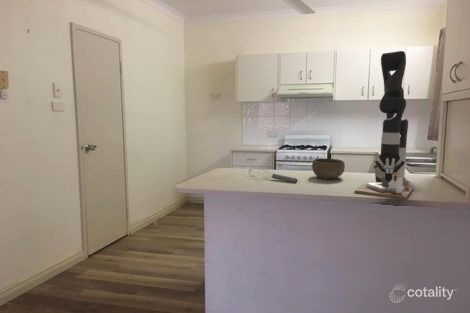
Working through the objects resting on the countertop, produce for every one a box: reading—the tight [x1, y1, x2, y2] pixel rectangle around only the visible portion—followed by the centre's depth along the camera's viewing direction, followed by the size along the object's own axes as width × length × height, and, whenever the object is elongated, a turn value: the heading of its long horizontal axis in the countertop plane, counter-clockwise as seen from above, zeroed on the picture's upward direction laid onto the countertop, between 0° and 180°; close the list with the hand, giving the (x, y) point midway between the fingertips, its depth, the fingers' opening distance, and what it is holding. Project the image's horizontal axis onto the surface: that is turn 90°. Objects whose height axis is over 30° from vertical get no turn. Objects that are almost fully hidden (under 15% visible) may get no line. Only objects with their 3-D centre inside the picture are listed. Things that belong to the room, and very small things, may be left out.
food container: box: [373, 163, 398, 183], centre depth 187 cm, size 12×6×10 cm, turn 59°
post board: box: [354, 176, 415, 199], centre depth 169 cm, size 22×22×7 cm
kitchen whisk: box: [248, 166, 301, 184], centre depth 198 cm, size 6×34×6 cm, turn 50°
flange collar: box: [365, 175, 405, 194], centre depth 167 cm, size 16×12×8 cm
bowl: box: [311, 158, 346, 180], centre depth 203 cm, size 17×18×10 cm
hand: (388, 181), depth 160 cm, fingers closed
